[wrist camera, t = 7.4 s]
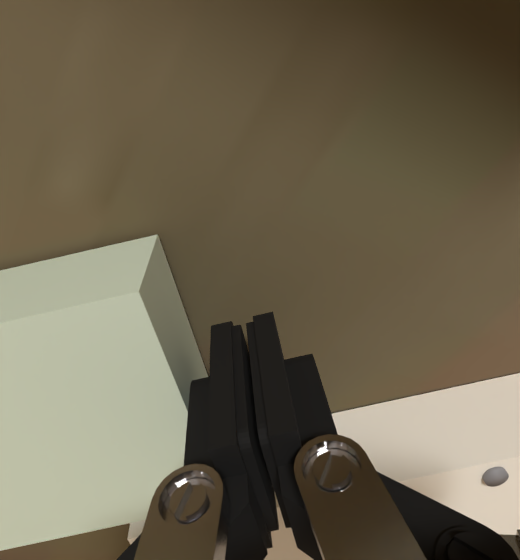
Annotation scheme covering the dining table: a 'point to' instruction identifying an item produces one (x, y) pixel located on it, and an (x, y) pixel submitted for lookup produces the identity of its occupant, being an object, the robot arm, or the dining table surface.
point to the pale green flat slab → (90, 389)
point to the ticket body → (437, 453)
